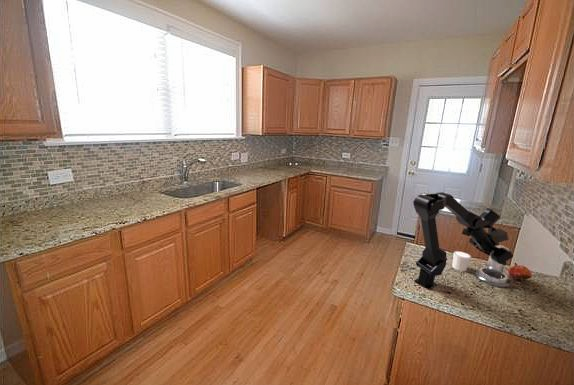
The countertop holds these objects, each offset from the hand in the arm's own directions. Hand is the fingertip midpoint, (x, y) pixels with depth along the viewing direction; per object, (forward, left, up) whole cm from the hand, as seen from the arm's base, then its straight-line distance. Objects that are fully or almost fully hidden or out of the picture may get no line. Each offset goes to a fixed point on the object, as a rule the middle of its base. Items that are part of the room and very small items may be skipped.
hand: (500, 261), depth 112 cm
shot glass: (-4, +13, -9) cm, 16 cm away
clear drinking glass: (-1, +1, -7) cm, 7 cm away
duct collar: (-1, +1, -9) cm, 9 cm away
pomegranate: (+9, -5, -9) cm, 14 cm away
